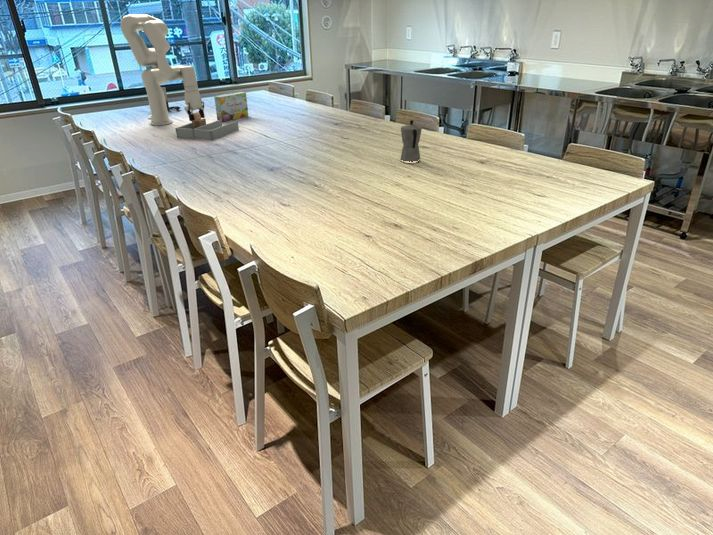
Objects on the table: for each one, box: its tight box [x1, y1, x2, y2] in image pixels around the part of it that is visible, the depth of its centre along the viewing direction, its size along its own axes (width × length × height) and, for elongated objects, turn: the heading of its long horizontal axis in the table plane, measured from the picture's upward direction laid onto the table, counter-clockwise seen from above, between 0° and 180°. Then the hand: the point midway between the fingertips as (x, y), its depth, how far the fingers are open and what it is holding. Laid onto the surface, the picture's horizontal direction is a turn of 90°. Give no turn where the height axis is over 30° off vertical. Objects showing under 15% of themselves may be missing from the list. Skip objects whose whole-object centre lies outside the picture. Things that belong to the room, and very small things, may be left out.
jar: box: [191, 111, 202, 123], centre depth 290 cm, size 6×6×8 cm
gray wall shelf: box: [175, 118, 240, 141], centre depth 274 cm, size 23×26×5 cm
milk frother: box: [160, 86, 181, 112], centre depth 334 cm, size 14×16×15 cm
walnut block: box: [193, 118, 207, 129], centre depth 276 cm, size 5×5×7 cm
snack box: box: [213, 91, 249, 123], centre depth 306 cm, size 21×6×15 cm, turn 143°
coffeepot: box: [399, 119, 423, 162], centre depth 215 cm, size 15×9×18 cm, turn 6°
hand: (197, 119), depth 289 cm, fingers open, 9 cm apart
